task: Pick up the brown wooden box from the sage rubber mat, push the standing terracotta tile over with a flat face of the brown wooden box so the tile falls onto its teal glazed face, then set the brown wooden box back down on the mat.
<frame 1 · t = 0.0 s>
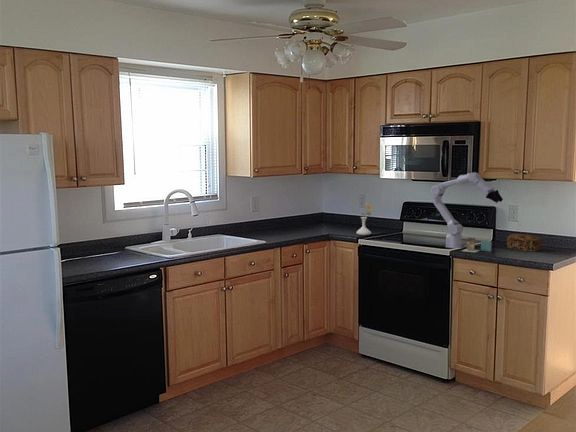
hand: (500, 201, 348), 32 cm above the worktop, tool tilted 50°, fingers open, 7 cm apart
brown wooden box: (470, 250, 355), point 1 cm above the worktop, touching mat
mat: (470, 251, 355), on the worktop
bread: (524, 250, 361), on the worktop
flower in vase: (364, 235, 429), on the worktop
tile: (485, 251, 354), on the worktop
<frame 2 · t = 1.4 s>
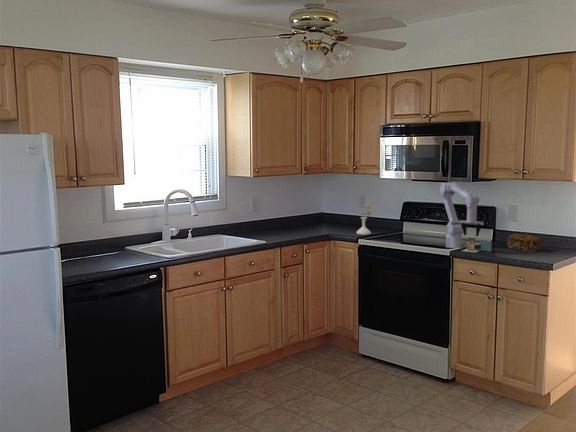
hand: (471, 235, 353), 10 cm above the worktop, tool pointing down, fingers open, 7 cm apart
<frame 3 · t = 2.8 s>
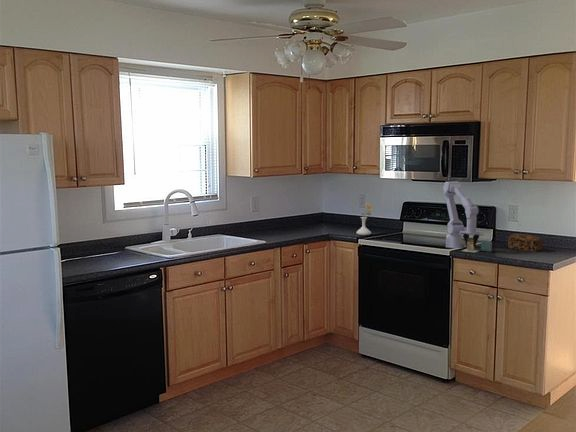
hand: (470, 246, 354), 3 cm above the worktop, tool pointing down, fingers closed on brown wooden box, 4 cm apart
brown wooden box: (470, 250, 355), point 1 cm above the worktop, touching gripper, mat
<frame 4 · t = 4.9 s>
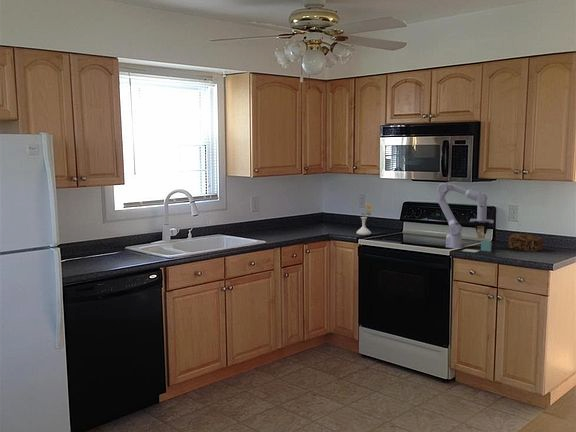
hand: (481, 233, 360), 11 cm above the worktop, tool pointing down, fingers closed on brown wooden box, 4 cm apart
brown wooden box: (481, 238, 360), point 7 cm above the worktop, touching gripper
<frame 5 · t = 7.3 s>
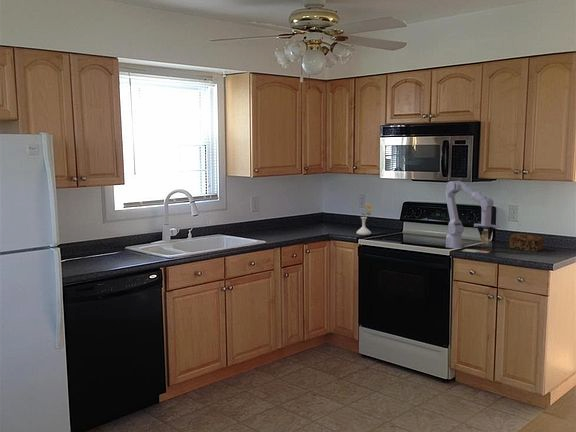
hand: (485, 238, 351), 8 cm above the worktop, tool pointing down, fingers closed on brown wooden box, 4 cm apart
brown wooden box: (485, 243, 352), point 5 cm above the worktop, touching gripper
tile: (485, 251, 353), on the worktop, tilted 90°
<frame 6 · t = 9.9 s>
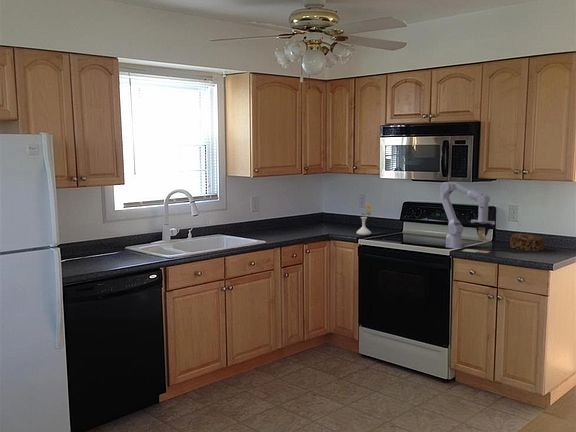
hand: (482, 234, 356), 10 cm above the worktop, tool pointing down, fingers closed on brown wooden box, 4 cm apart
brown wooden box: (482, 239, 356), point 7 cm above the worktop, touching gripper
when the fingers open (4 cm above the worktop, at t = 11.9 s): brown wooden box stays where it is, resting on mat.
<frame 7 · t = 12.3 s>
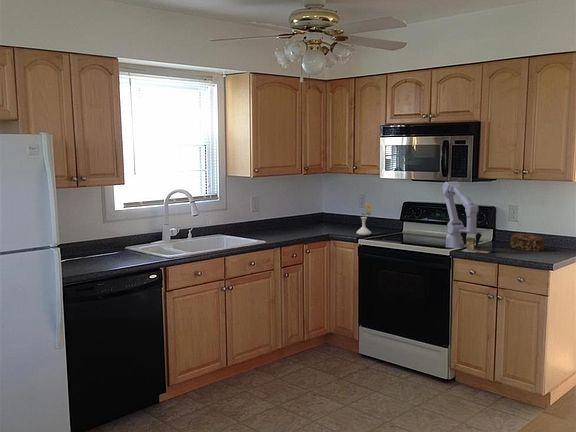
hand: (470, 244, 354), 4 cm above the worktop, tool pointing down, fingers open, 7 cm apart
brown wooden box: (470, 250, 354), point 1 cm above the worktop, touching mat
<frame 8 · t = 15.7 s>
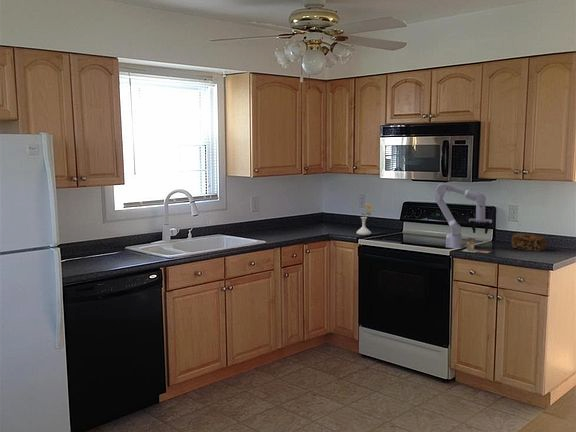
hand: (480, 233, 363), 10 cm above the worktop, tool pointing down, fingers open, 7 cm apart
at the end: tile tilted 90°; brown wooden box inside the target area on the mat (0.3 cm from its centre), point 0.6 cm above the mat's base; brown wooden box tilted 0° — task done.
